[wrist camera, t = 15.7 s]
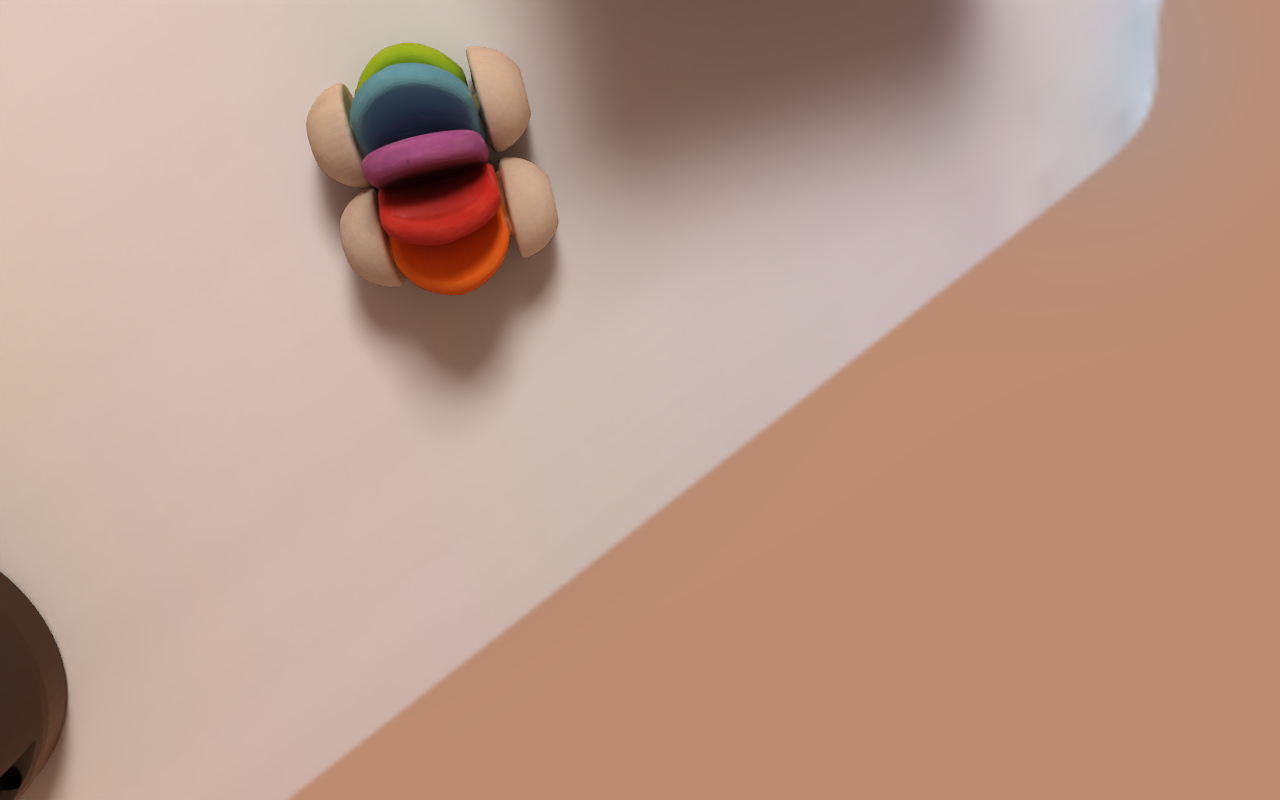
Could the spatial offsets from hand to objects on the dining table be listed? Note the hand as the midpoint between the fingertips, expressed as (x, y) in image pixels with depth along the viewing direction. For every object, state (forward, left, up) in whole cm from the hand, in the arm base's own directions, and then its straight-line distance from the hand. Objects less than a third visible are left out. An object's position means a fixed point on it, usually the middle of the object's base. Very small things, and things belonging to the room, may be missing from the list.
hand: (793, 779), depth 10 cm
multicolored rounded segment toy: (-5, +5, -37) cm, 38 cm away
